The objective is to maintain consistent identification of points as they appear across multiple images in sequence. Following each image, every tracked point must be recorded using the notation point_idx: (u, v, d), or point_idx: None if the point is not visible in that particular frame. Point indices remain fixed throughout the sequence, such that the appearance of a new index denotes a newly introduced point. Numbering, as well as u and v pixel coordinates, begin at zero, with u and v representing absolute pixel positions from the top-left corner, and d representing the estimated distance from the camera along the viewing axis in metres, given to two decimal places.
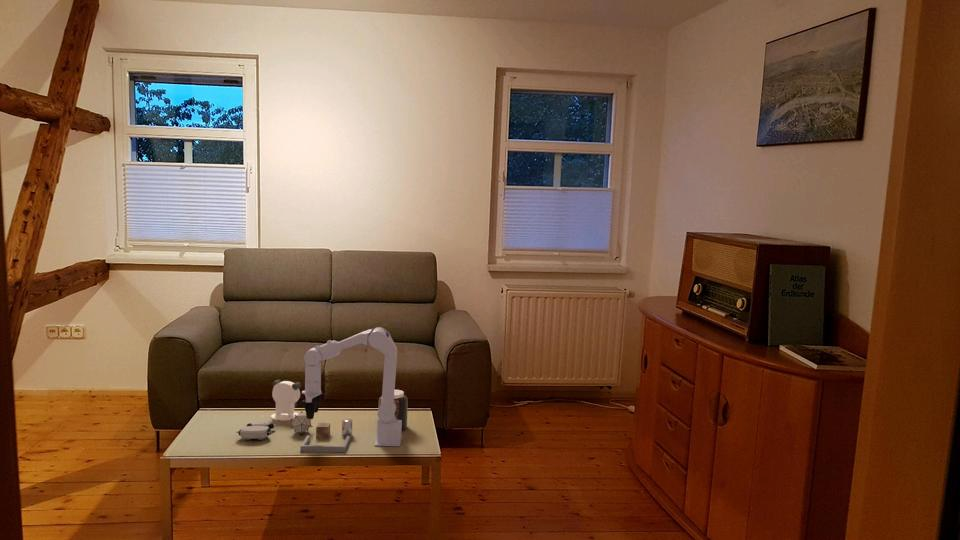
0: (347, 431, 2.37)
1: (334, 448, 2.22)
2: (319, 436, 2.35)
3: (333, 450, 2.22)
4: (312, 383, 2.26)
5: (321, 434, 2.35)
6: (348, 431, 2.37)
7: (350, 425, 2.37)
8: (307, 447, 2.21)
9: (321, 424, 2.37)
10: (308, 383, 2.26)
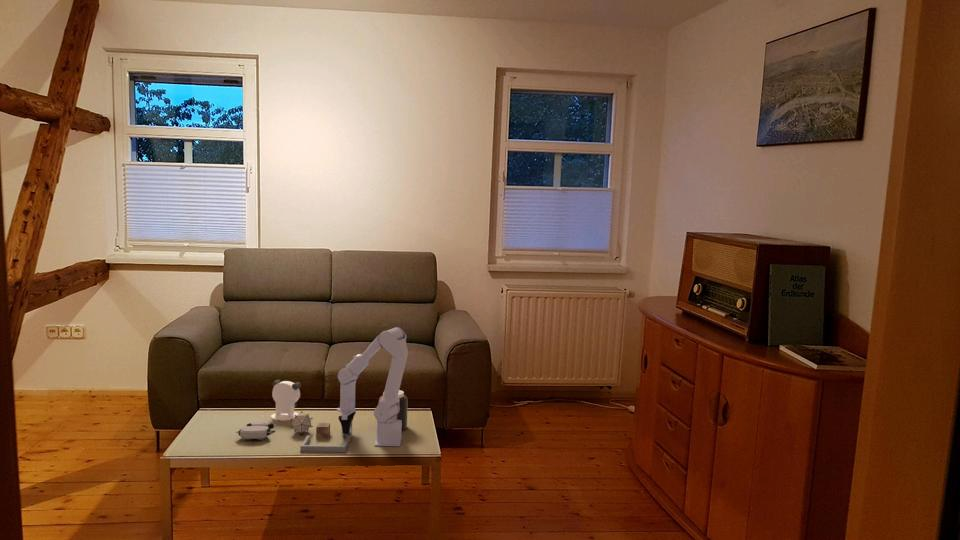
0: None
1: (334, 448, 2.22)
2: (319, 436, 2.35)
3: (333, 450, 2.22)
4: (347, 401, 2.35)
5: (321, 434, 2.35)
6: None
7: (350, 425, 2.37)
8: (307, 447, 2.21)
9: (321, 424, 2.37)
10: (343, 401, 2.35)
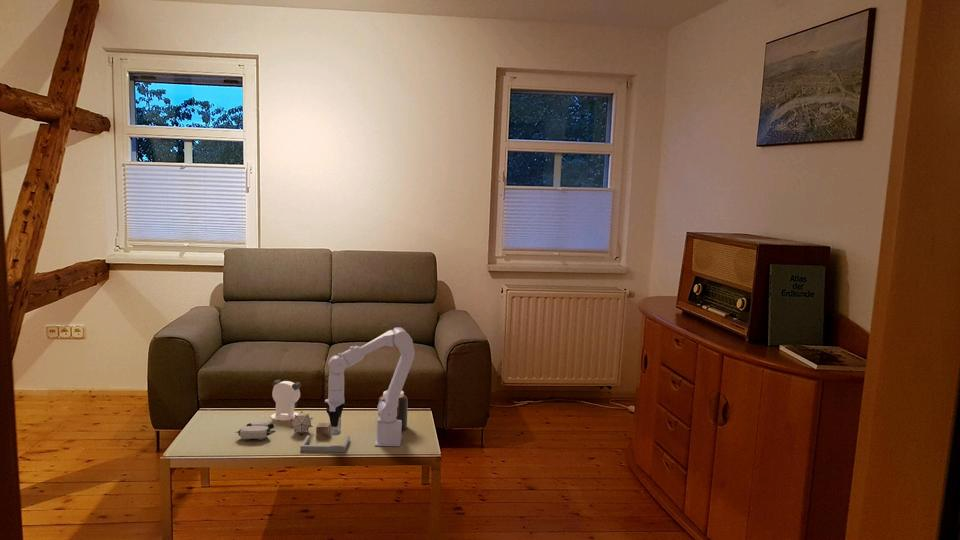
0: (336, 429, 2.24)
1: (334, 448, 2.22)
2: (319, 436, 2.35)
3: (333, 450, 2.22)
4: (335, 392, 2.22)
5: (321, 434, 2.35)
6: (336, 429, 2.24)
7: (339, 422, 2.25)
8: (307, 447, 2.21)
9: (321, 424, 2.37)
10: (331, 392, 2.22)
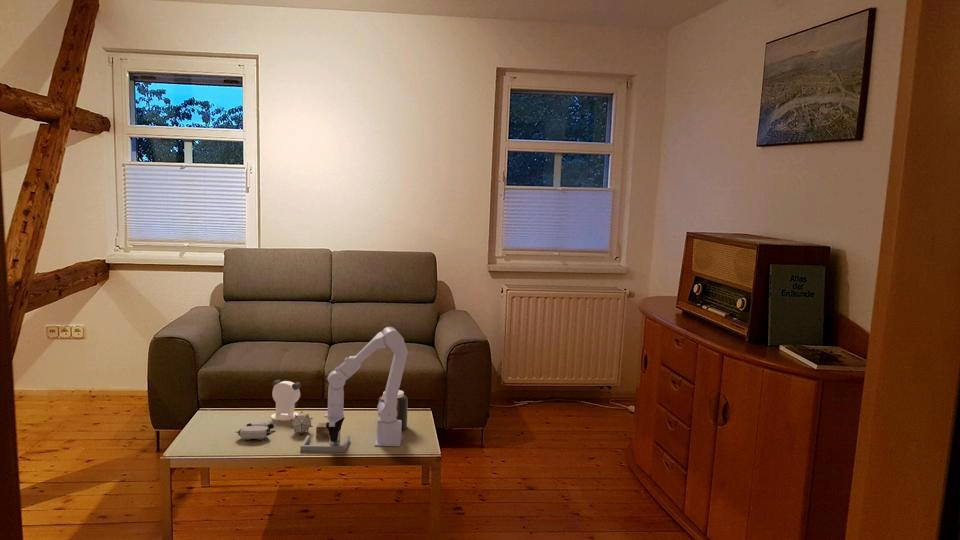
0: (335, 442, 2.24)
1: (334, 448, 2.22)
2: (319, 436, 2.35)
3: (333, 450, 2.22)
4: (335, 407, 2.22)
5: (321, 434, 2.35)
6: (336, 442, 2.25)
7: (338, 436, 2.25)
8: (307, 447, 2.21)
9: (321, 424, 2.37)
10: (331, 407, 2.23)
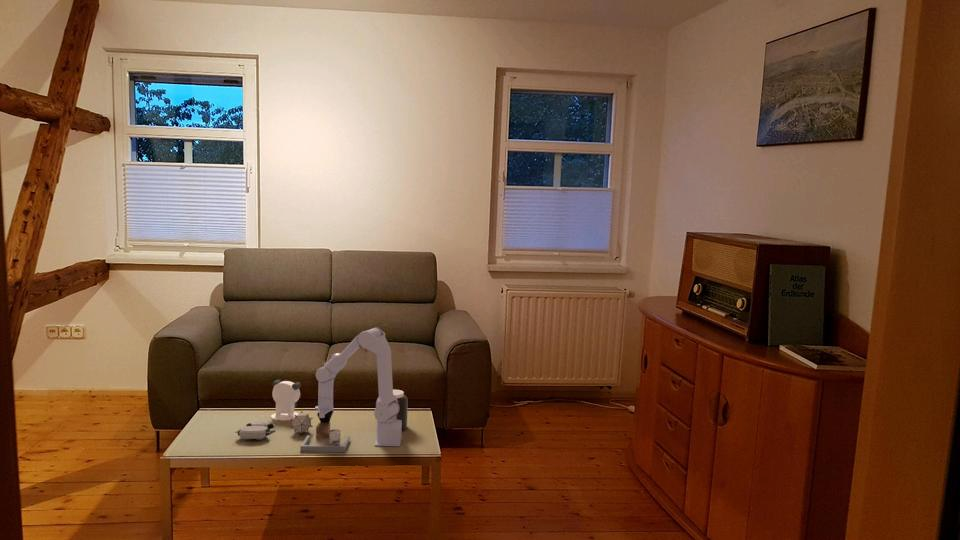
0: (335, 442, 2.24)
1: (334, 448, 2.22)
2: (319, 436, 2.35)
3: (333, 450, 2.22)
4: (325, 399, 2.37)
5: (321, 434, 2.35)
6: (336, 442, 2.25)
7: (338, 436, 2.25)
8: (307, 447, 2.21)
9: (321, 424, 2.37)
10: (321, 399, 2.37)
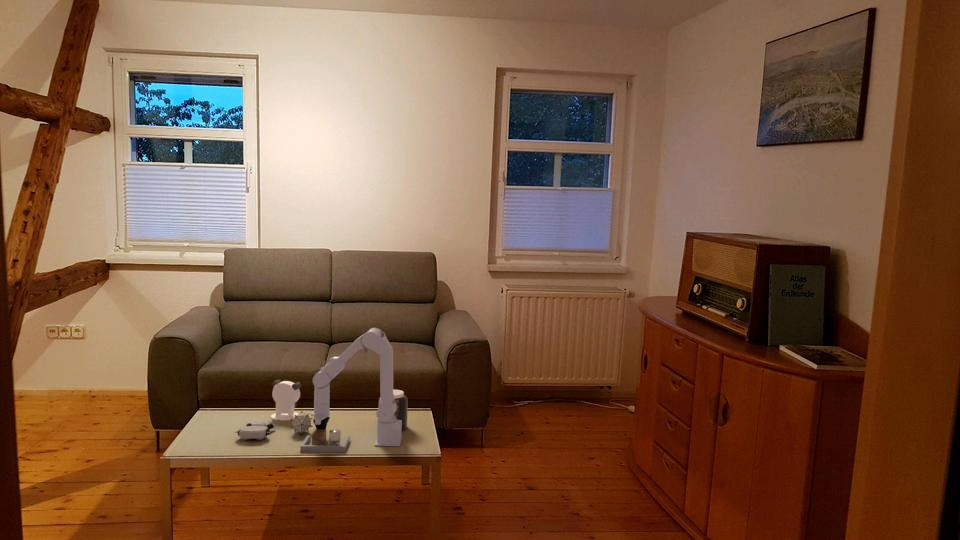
0: (335, 442, 2.24)
1: (334, 448, 2.22)
2: (315, 443, 2.27)
3: (333, 450, 2.22)
4: (321, 405, 2.29)
5: (317, 441, 2.27)
6: (336, 442, 2.25)
7: (338, 436, 2.25)
8: (307, 447, 2.21)
9: (317, 430, 2.30)
10: (317, 405, 2.30)
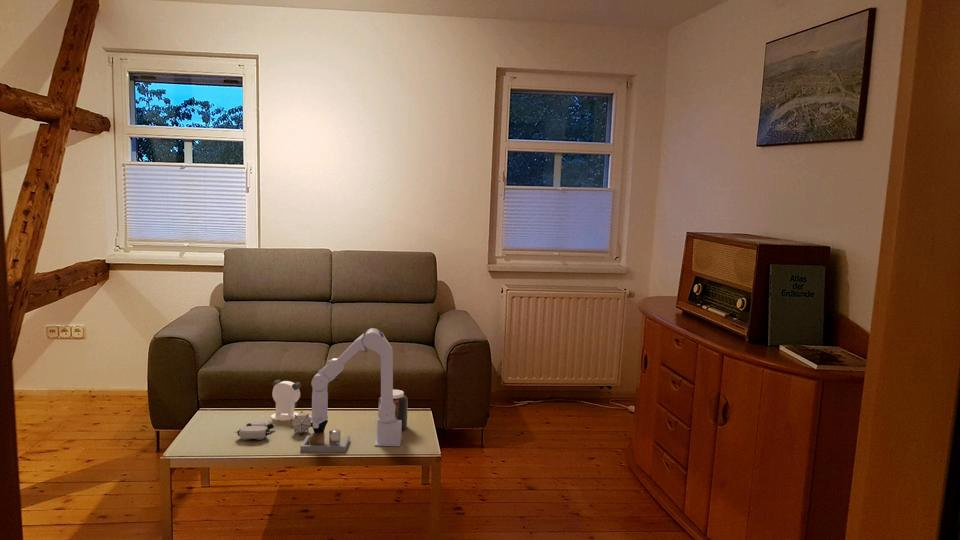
0: (335, 442, 2.24)
1: (334, 448, 2.22)
2: None
3: (333, 450, 2.22)
4: (319, 408, 2.26)
5: None
6: (336, 442, 2.25)
7: (338, 436, 2.25)
8: (307, 447, 2.21)
9: (315, 434, 2.26)
10: (315, 408, 2.26)
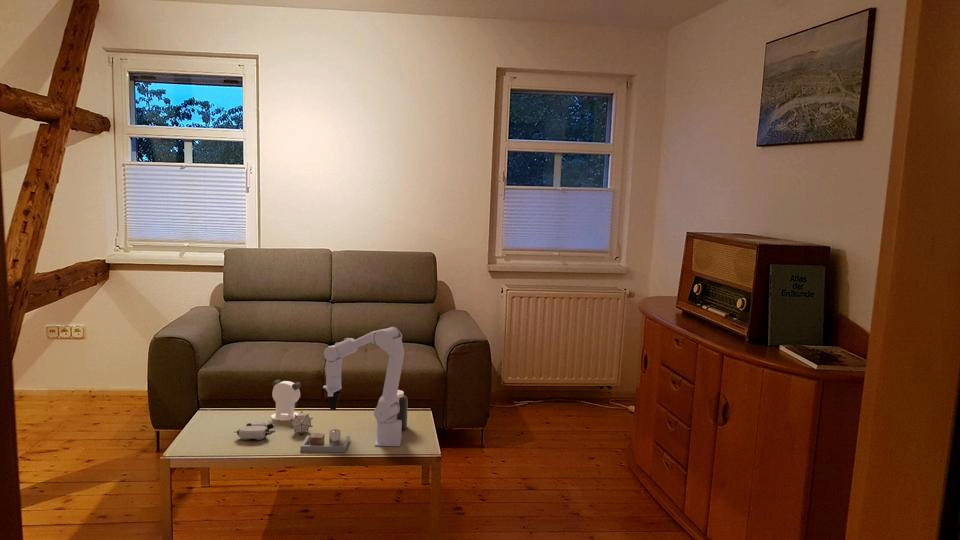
0: (335, 442, 2.24)
1: (334, 448, 2.22)
2: None
3: (333, 450, 2.22)
4: (333, 378, 2.37)
5: None
6: (336, 442, 2.25)
7: (338, 436, 2.25)
8: (307, 447, 2.21)
9: (315, 434, 2.26)
10: (329, 378, 2.37)
